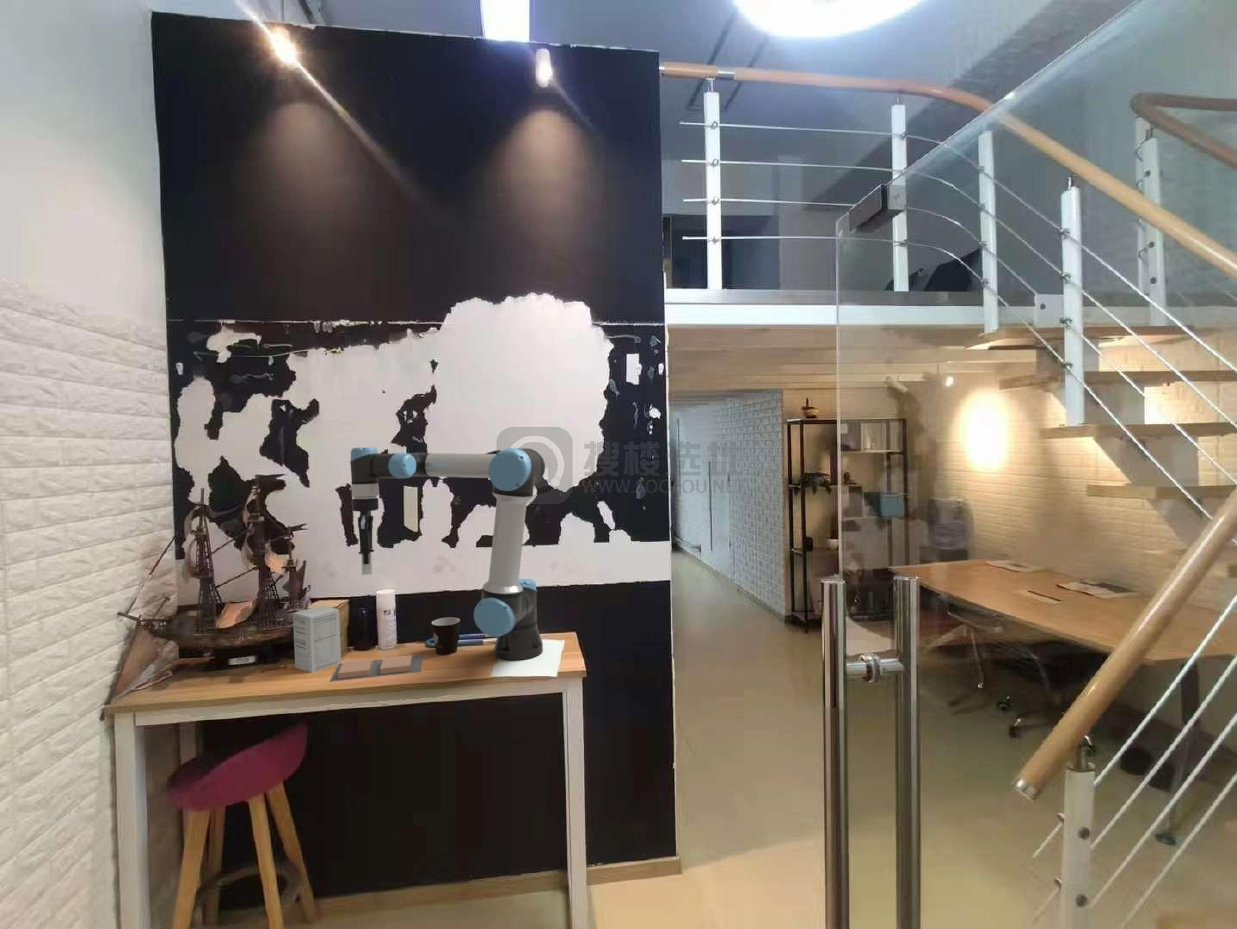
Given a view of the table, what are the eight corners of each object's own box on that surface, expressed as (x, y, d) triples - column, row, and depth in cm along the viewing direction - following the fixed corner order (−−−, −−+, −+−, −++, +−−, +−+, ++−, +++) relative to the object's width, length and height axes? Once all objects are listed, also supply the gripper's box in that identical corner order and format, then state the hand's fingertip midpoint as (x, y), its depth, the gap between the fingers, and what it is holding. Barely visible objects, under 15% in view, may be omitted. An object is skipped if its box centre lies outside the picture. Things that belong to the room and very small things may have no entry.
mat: (423, 656, 183) (423, 655, 183) (420, 673, 169) (420, 671, 169) (339, 665, 176) (339, 663, 176) (329, 683, 163) (329, 681, 163)
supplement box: (324, 658, 182) (323, 604, 182) (342, 664, 177) (340, 608, 177) (293, 668, 174) (291, 612, 174) (311, 674, 169) (309, 616, 169)
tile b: (373, 658, 175) (368, 669, 166) (373, 664, 175) (368, 675, 166) (343, 661, 173) (337, 673, 164) (344, 667, 173) (338, 679, 164)
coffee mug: (432, 649, 189) (431, 619, 188) (459, 646, 191) (459, 616, 191) (432, 662, 178) (431, 629, 177) (461, 658, 180) (461, 626, 180)
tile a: (412, 655, 178) (409, 665, 169) (412, 660, 178) (409, 671, 169) (383, 657, 176) (379, 668, 167) (383, 663, 176) (380, 674, 167)
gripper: (355, 496, 185) (357, 570, 186) (347, 499, 173) (350, 579, 173) (380, 495, 187) (382, 569, 188) (375, 498, 175) (377, 577, 175)
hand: (367, 574), depth 181 cm, fingers closed
